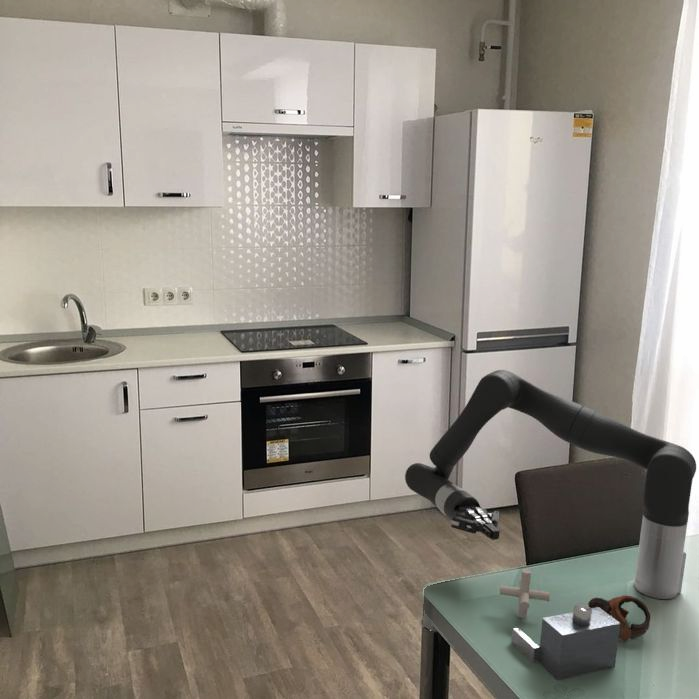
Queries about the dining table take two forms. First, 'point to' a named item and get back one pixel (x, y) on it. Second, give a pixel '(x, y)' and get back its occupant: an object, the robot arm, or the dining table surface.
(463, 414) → the robot arm
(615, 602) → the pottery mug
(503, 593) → the pipe connector
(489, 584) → the dining table surface
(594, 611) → the grey boxy knob-topped device
